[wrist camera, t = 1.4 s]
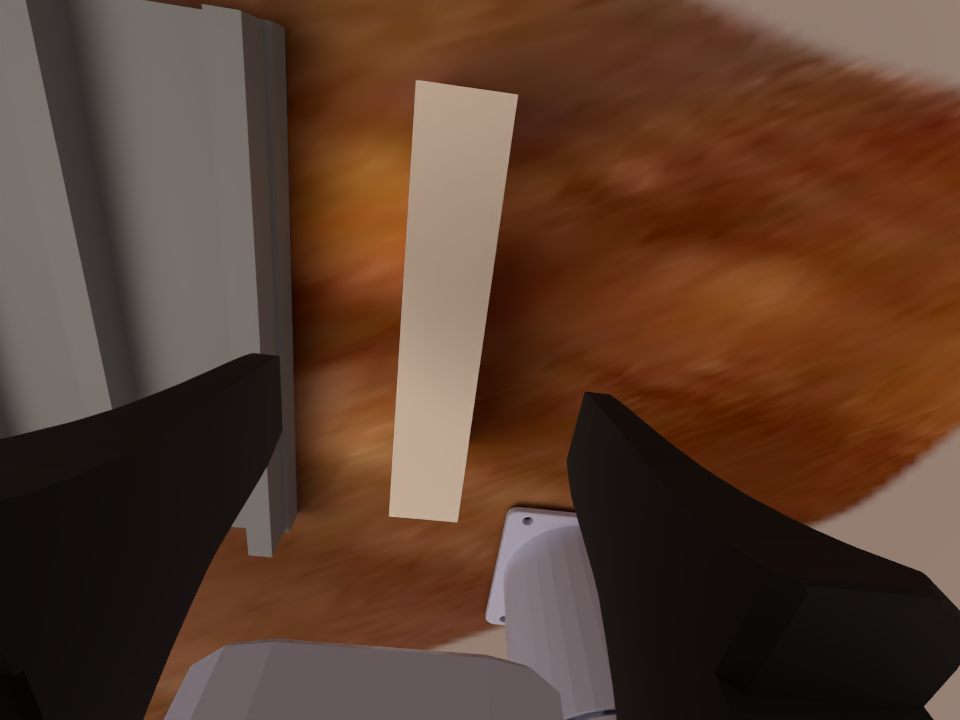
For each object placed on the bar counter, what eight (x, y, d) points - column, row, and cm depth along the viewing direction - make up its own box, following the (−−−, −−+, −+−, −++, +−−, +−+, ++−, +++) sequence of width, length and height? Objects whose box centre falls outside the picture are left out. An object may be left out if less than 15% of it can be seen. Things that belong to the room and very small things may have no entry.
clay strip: (431, 87, 17) (415, 80, 12) (506, 97, 17) (517, 95, 12) (405, 436, 23) (388, 516, 18) (460, 441, 23) (457, 522, 19)
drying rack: (284, 26, 16) (250, 12, 13) (297, 513, 25) (277, 557, 22) (-357, -78, 14) (-523, -115, 12) (-102, 475, 23) (-169, 517, 21)
